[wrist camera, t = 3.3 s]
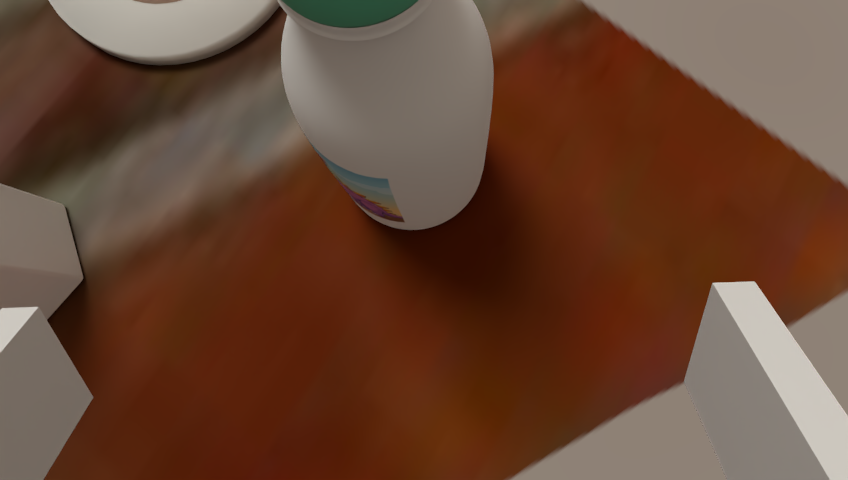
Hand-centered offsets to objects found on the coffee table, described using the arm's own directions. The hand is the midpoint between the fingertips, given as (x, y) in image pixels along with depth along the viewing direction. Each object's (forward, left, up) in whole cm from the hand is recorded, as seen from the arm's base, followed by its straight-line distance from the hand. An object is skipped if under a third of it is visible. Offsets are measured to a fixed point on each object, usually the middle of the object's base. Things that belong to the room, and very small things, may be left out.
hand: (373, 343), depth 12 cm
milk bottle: (-6, +8, -19) cm, 22 cm away
